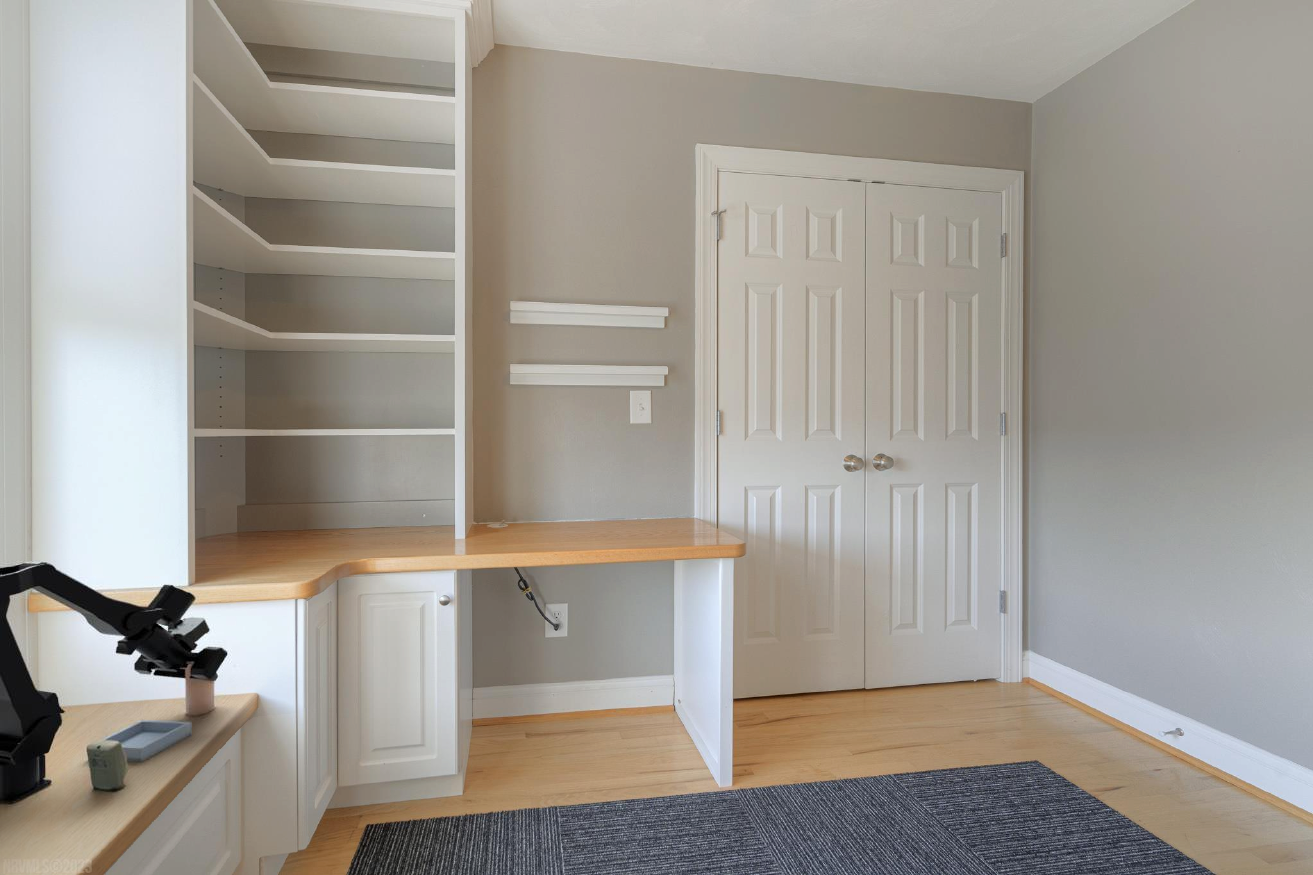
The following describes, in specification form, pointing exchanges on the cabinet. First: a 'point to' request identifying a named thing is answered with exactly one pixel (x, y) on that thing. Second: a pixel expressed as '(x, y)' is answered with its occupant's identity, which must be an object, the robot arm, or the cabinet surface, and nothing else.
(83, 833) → the cabinet surface
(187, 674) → the peach rounded peg
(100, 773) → the power adapter
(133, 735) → the tray
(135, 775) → the cabinet surface
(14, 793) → the robot arm
